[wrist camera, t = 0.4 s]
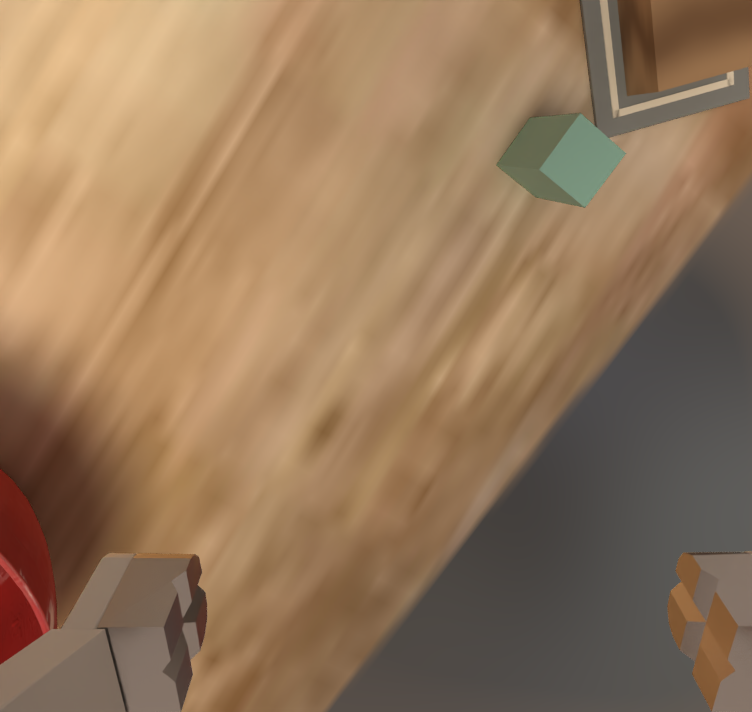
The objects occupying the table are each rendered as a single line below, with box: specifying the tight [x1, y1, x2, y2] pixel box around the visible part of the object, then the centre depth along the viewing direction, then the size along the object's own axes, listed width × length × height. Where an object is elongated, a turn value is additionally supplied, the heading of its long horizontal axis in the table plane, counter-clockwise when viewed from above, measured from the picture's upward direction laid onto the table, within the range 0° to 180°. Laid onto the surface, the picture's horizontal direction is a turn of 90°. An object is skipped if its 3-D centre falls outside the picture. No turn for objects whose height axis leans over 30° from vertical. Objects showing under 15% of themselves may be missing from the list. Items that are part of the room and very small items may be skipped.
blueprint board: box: [580, 0, 749, 138], centre depth 45 cm, size 12×12×1 cm
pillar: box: [497, 113, 626, 208], centre depth 43 cm, size 4×4×8 cm
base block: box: [617, 0, 752, 96], centre depth 43 cm, size 7×7×4 cm
